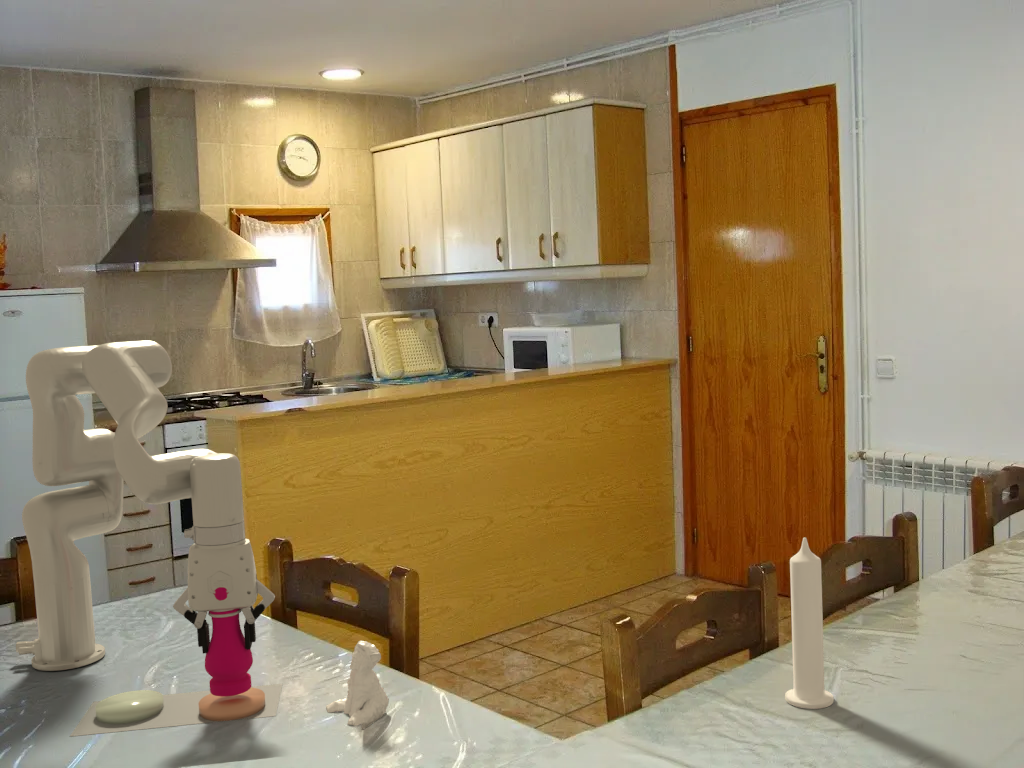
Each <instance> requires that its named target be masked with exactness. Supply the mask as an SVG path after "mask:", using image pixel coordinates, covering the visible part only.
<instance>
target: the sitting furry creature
mask: <svg viewBox="0 0 1024 768" xmlns="http://www.w3.org/2000/svg"><path fill="white" fill-rule="evenodd" d="M379 651H380V650H379V648H377V647H376V645H375V644H372V643H371V642H368V641H367V640H365V641H364V640H359V641H357V644H355V646H354V651H353V652H352V655H351V657H352V658H351V660H350V661H351V662H350V665H349V670H350V673H349V678H348V679H347V681H346V683H347V696H346V698H343V699H337V700H333V701H332V702H331V703H329V704H326V706H325V709H326V711H327V713H329V714H330V713H334V712H335V713H336V712H343V713H344V715H348V716H349V719H348V721H347V723H346V724H347V725H348V726H355V727H357V726H359V725H361V731H365V729H366V728H367V727H370V726H371V725H373V724H374V723H375V722H376V721H378V720H380V719H381V718H383V716H384V714H386V712H387V709H388V706H389V702H390V698H389V697H388V695H387V692H386V691H385V689H384V687H382V685H381V683H380V679H379V677H378V676H377V673H376V672H375V671H374V670H373V669H374V668H375V666H376V664H377V663H379V662H380V660H382V655H381V653H380V652H379Z"/></svg>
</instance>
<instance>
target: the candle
mask: <svg viewBox="0 0 1024 768" xmlns="http://www.w3.org/2000/svg"><path fill="white" fill-rule="evenodd" d="M789 573H790V577H789V578H790V579H789V580H790V583H789V584H790V607H791V608H790V609H791V611H790V612H791V613H790V614H791V641H792V642H791V643H792V644H791V645H792V646H791V648H792V651H791V652H792V672H793V673H792V681H793V684H792V686H793V688H791V689H788V690H787V691H786V692H785V694H784V695H785V696H784V699H785V701H786V703H788V705H791V706H794V707H796V708H800V709H806V710H816V709H817V710H819V709H824V708H829V707H831V706H832V705H833V704H834V701H835V699H834V695H833V693H832V692H831V691H828V690H826V689H825V660H824V659H825V657H824V654H825V653H824V624H823V623H824V622H823V621H824V620H823V619H824V618H823V586H822V585H823V582H822V559H821V558H820V557H819V556H818V555H816V554H815V553H814V552H812V551H811V549H810V546H809V543H808V539H807V537H806V536H805V537H803V538H802V541H801V546H800V549H799V550H798V551H797V553H796V554H794V555H793V556H792V557H790V559H789Z"/></svg>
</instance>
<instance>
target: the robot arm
mask: <svg viewBox="0 0 1024 768" xmlns="http://www.w3.org/2000/svg"><path fill="white" fill-rule="evenodd" d="M172 373H173V365H172V360H171V357H170V355H169V353H168V351H167V350H166V348H164V347H163V346H162V345H161V344H159V343H158V342H156V341H153V340H148V339H147V340H130V341H116V342H115V341H113V342H106V343H102V344H97V345H96V344H95V345H79V346H77V345H75V346H64V347H54V348H48V349H44V350H41V351H38V352H36V353H35V354H33V355H32V356H31V358H30V359H29V361H28V362H27V366H26V370H25V385H26V390H27V393H28V394H27V395H28V397H29V399H30V403H31V408H32V471H33V476H34V477H35V479H36V481H37V483H39V484H41V485H42V486H46V487H59V486H68V485H73V484H74V485H75V484H79V483H85V482H88V485H81V486H76V487H68V488H61V489H58V490H51V491H46V492H43V493H40V494H38V495H36V496H33V497H32V498H31V499H29V500H28V501H27V502H26V503H25V505H24V507H23V509H22V513H21V520H22V525H23V530H24V533H25V537H26V541H27V544H28V548H29V552H30V558H31V568H32V577H33V586H34V597H35V598H34V599H35V609H36V617H37V618H36V621H37V630H38V631H37V632H38V638H34V640H32V641H31V640H30V641H28V640H27V641H25V640H24V641H17V642H16V643H15V651H16V653H18V656H19V655H20V656H21V655H30V654H32V655H33V657H32V658H31V666H32V668H33V669H36V670H38V671H43V672H56V671H57V672H58V671H65V670H72V669H77V668H81V667H84V666H85V667H86V666H88V665H90V664H92V663H93V664H94V663H95V662H97V661H99V660H101V659H102V658H103V657H104V656H105V654H106V647H105V646H104V645H102V644H100V643H97V642H96V635H95V634H96V633H95V632H96V631H95V620H94V610H93V609H94V608H93V599H92V598H93V597H92V596H93V595H92V585H91V584H92V583H91V575H90V565H89V561H88V559H87V557H86V555H85V554H84V553H83V552H82V550H80V549H79V547H77V545H76V544H75V543H74V542H75V541H77V540H80V539H83V538H88V537H93V536H97V535H101V534H106V533H109V532H111V531H113V530H115V529H116V528H117V527H118V526H119V525H120V522H121V521H122V516H123V511H124V490H125V489H124V484H126V486H127V487H128V488H129V490H130V491H131V492H132V494H133V495H134V496H135V497H136V498H137V499H138V500H140V501H141V502H143V503H144V504H149V505H160V504H166V503H170V502H175V501H180V500H185V499H191V508H192V509H191V510H192V521H193V522H192V523H193V525H192V527H189V528H187V529H186V528H185V529H184V531H183V535H184V539H192V541H193V544H191V545H190V546H189V548H188V555H187V557H188V558H187V587H186V588H185V590H184V591H183V592H182V593H181V594H180V595H179V597H178V598H177V599H176V600H175V602H174V603H173V605H172V608H173V610H175V611H176V612H178V613H179V614H180V615H182V616H183V617H184V618H185V619H186V620H188V622H190V623H191V624H192V625H193V626H194V627H195V629H196V632H197V646H198V647H199V648H201V649H202V654H203V655H204V654H206V653H207V652H208V647H209V644H210V641H211V638H210V637H211V636H210V624H209V623H208V622H207V619H206V618H207V615H208V613H209V611H219V610H231V609H241V610H242V611H241V612H242V614H243V616H244V619H245V621H244V625H243V631H244V632H243V636H244V638H245V649H247V650H249V649H250V650H252V649H251V648H252V646H253V643H256V641H257V640H256V639H257V637H256V622H255V621H256V620H257V619H258V618H259V617H260V616H261V614H263V613H264V611H265V610H266V609H267V608H268V607H269V606H270V605H271V604H272V603H273V602H274V600H275V598H276V595H275V593H273V592H272V591H271V589H269V588H268V587H267V586H265V584H264V583H262V582H261V581H260V580H258V577H257V576H258V575H257V569H256V568H257V567H256V563H255V557H254V552H253V547H252V544H251V541H250V539H249V538H246V530H245V518H244V517H245V516H244V504H243V503H244V501H243V500H244V499H243V488H242V487H243V486H242V474H241V473H242V472H241V471H242V469H241V462H240V460H239V458H238V456H236V455H235V454H232V453H226V452H225V453H224V452H223V453H222V452H221V453H220V452H215V451H214V450H211V449H208V448H193V449H187V450H179V451H174V452H167V453H161V454H155V455H150V454H149V453H148V452H147V451H146V449H145V448H144V447H143V445H142V444H141V443H140V440H139V439H141V438H142V437H143V436H145V435H147V434H149V433H150V432H151V431H152V430H154V429H155V428H156V427H158V425H160V424H161V422H162V421H163V419H165V416H166V415H167V412H168V401H167V399H166V397H165V396H164V395H163V393H162V392H161V391H160V389H159V388H161V387H164V386H165V385H166V384H167V383H168V382H169V381H170V379H171V377H172ZM90 394H91V395H92V394H96V396H97V397H98V398H99V400H100V401H101V403H102V404H103V405H104V407H105V409H106V410H107V411H108V412H109V414H110V416H111V417H112V418H113V420H114V421H115V422H116V424H117V427H116V429H115V432H113V431H112V430H109V429H107V428H96V427H95V428H89V429H85V410H84V409H85V408H84V407H83V404H82V403H81V401H80V400H79V398H78V396H77V395H90ZM219 587H224V588H226V589H227V591H226V592H227V593H228V592H229V593H228V594H227V598H226V599H225V600H221V601H219V600H217V599H216V597H215V595H214V594H213V593H215V590H216V589H217V588H219ZM258 595H260V596H261V598H262V600H260V602H259V603H258V604H256V602H257V597H258ZM187 601H188V605H187ZM255 604H256V606H255V607H254V605H255Z"/></svg>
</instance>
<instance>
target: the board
mask: <svg viewBox="0 0 1024 768" xmlns="http://www.w3.org/2000/svg"><path fill="white" fill-rule="evenodd" d="M283 685H284V684H283V683H275V684H264V685H254V686H253V685H251V687H252V688H257V689H260V690H262V691H263V692H264V693H265V707H264V708H263V709H262V710H261V711H259V712H258V713H256V714H254V715H251V716H248V717H245V718H241V719H236V720H235V721H242V720H249V719H252V720H253V719H259V718H261V719H262V718H270V717H276V716H277V712H278V707H279V704H280V703H279V702H280V698H281V693H282V689H283ZM210 693H211V692H210V690H202V691H191V692H180V693H170V694H162V695H163V702H164V708H163V709H162V710H161V711H160V712H159V713H158V714H156V715H154V716H152V717H150V718H147V719H144V720H140V721H137V722H132V723H125V724H106V723H102V722H99V721H98V720H97V719H96V710H95V707H96V705H97V704H98V703H99V702H100V701H101V700H97V701H93V702H91V705H90V706H89V707H88V709H87V710H86V712H85V713H84V714H83V716H82V717H81V719H80V721H79V722H78V723H77V725H76V726H75V727H74V729H73V730H72V732H71V734H70V735H69V737H71V738H72V737H80V736H81V737H82V736H91V735H101V734H102V735H103V734H110V733H120V732H121V733H122V732H132V731H141V730H151V729H161V728H170V727H171V728H172V727H180V726H191V725H202V724H209V723H211V724H213V723H220V722H224V721H212V720H207V719H204V718H202V717H201V716H200V715H199V701H200V700H201V699H202V698H203V697H205V696H206V695H208V694H210ZM230 721H231V722H232V721H233V722H234V720H229V721H228V722H230Z"/></svg>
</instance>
